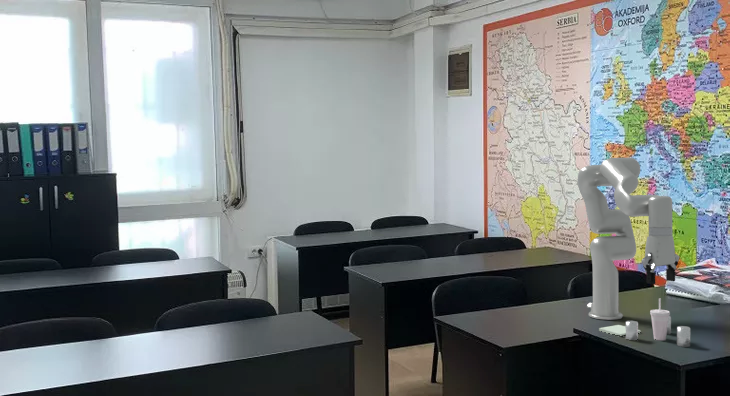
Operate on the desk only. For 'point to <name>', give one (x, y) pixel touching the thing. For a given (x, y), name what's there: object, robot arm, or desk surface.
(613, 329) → the coaster mat
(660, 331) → the smoothie
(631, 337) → the set of grey cylinders
